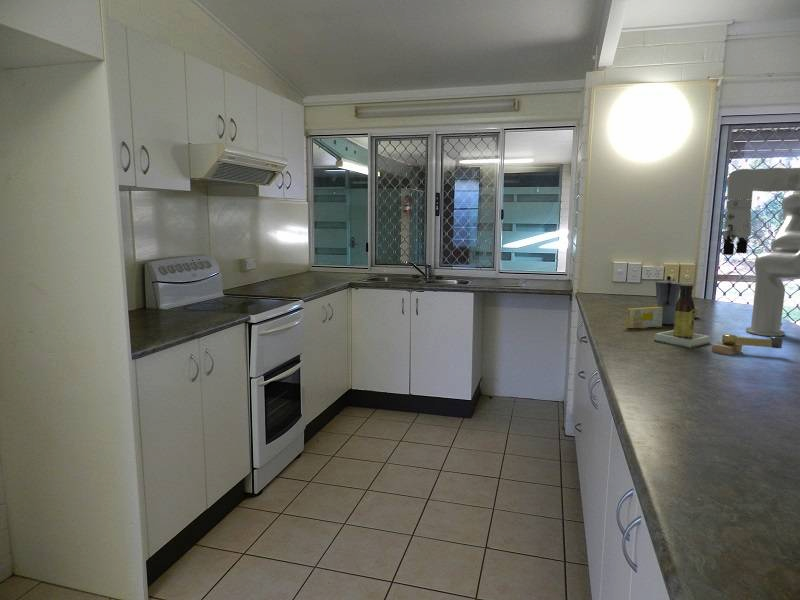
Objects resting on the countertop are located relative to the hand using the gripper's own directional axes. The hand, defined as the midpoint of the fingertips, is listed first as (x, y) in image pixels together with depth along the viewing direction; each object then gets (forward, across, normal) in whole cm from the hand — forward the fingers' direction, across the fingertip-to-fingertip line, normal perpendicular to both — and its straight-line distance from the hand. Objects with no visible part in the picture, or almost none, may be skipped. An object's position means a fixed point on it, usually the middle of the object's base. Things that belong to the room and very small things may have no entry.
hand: (734, 253), depth 193 cm
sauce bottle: (+30, -18, +7) cm, 36 cm away
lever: (+28, -16, -14) cm, 35 cm away
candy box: (+31, -6, +29) cm, 43 cm away
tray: (+31, -19, +7) cm, 37 cm away
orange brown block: (+31, -20, -9) cm, 38 cm away
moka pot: (+32, +10, +29) cm, 44 cm away
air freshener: (+33, +33, +34) cm, 57 cm away
